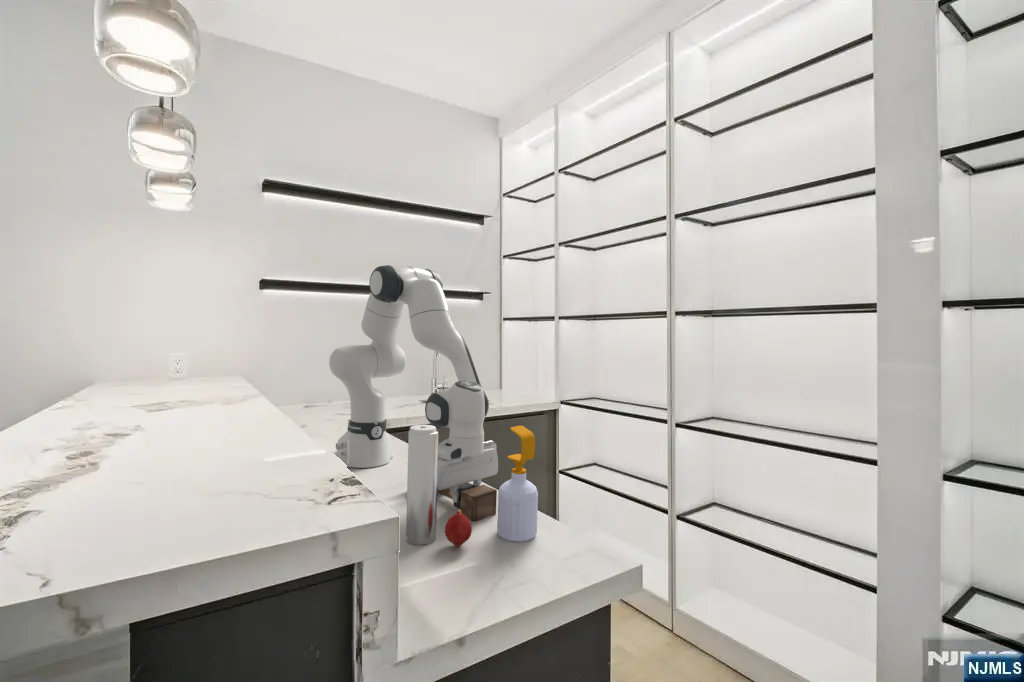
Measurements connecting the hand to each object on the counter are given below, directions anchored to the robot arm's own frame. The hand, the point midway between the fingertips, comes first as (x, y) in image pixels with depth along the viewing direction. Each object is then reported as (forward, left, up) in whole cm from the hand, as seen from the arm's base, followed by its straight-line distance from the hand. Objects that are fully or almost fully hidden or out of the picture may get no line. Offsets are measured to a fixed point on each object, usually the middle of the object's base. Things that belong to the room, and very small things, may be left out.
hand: (464, 498), depth 123 cm
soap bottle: (+19, 0, -3) cm, 19 cm away
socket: (+5, 0, -3) cm, 6 cm away
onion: (+15, -14, -3) cm, 21 cm away
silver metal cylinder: (+7, -18, -3) cm, 19 cm away
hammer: (-2, 0, -2) cm, 3 cm away
